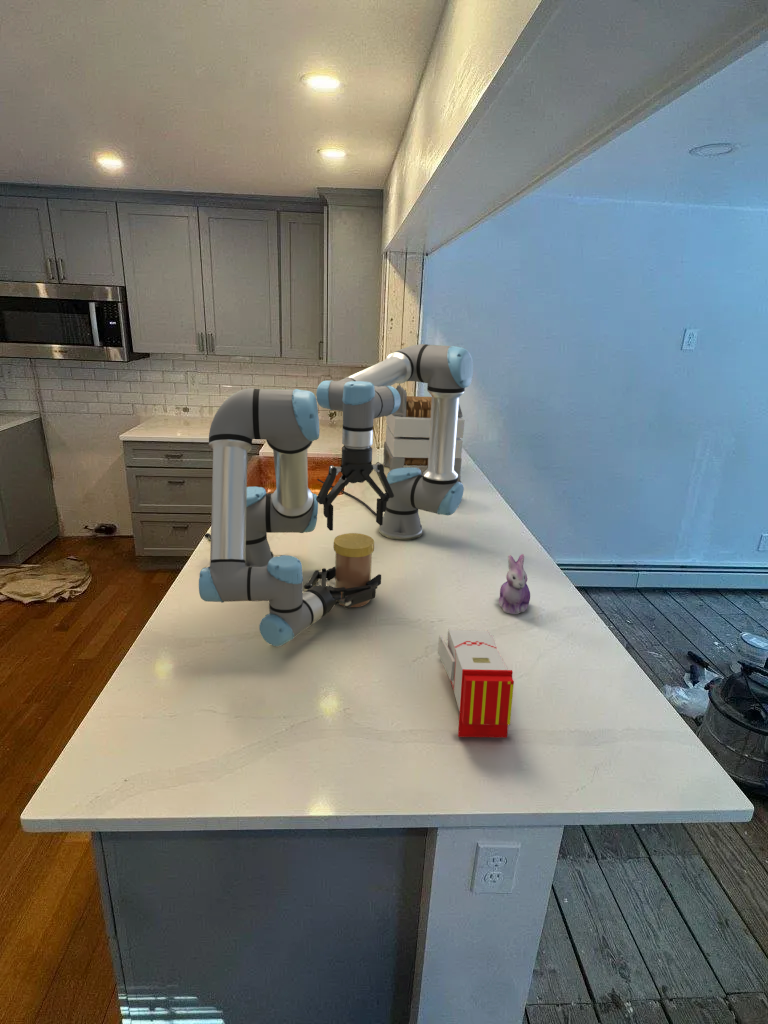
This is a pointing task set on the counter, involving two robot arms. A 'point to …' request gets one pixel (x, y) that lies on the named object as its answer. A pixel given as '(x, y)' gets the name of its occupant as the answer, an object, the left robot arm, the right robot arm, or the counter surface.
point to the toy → (478, 682)
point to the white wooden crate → (414, 434)
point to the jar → (352, 572)
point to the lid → (353, 545)
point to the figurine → (515, 588)
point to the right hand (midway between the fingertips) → (354, 526)
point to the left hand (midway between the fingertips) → (360, 573)
